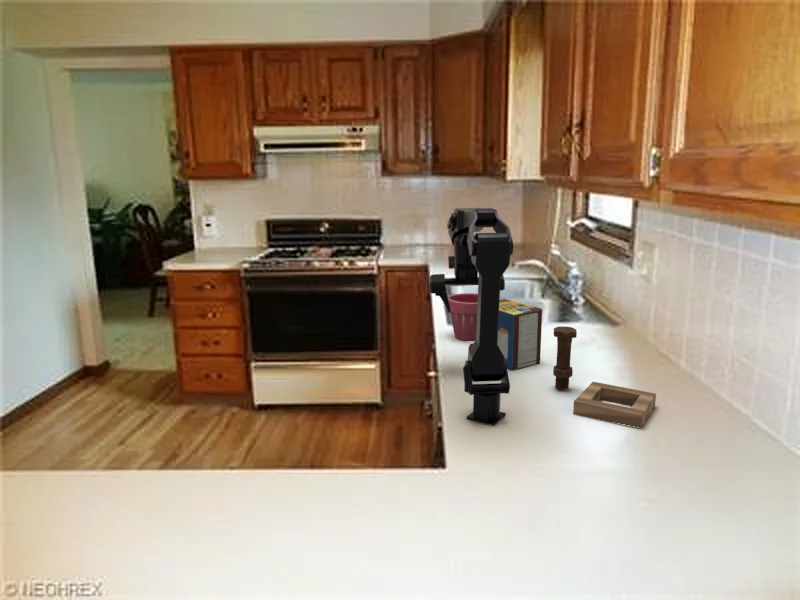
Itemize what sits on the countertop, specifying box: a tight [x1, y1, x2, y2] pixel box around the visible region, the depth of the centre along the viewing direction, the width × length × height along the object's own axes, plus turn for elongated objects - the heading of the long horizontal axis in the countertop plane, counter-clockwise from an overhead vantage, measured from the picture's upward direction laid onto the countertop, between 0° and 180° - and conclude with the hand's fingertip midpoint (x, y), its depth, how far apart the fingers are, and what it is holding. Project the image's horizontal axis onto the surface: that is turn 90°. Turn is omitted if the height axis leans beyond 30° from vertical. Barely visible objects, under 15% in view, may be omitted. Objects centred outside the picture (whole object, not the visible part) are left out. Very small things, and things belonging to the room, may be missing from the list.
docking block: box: [572, 381, 657, 429], centre depth 133 cm, size 14×14×3 cm
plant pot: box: [448, 292, 478, 342], centre depth 187 cm, size 14×14×13 cm
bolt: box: [552, 325, 577, 391], centre depth 144 cm, size 6×5×15 cm
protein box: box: [476, 298, 543, 372], centre depth 166 cm, size 10×15×16 cm
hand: (467, 311), depth 158 cm, fingers open, 9 cm apart
